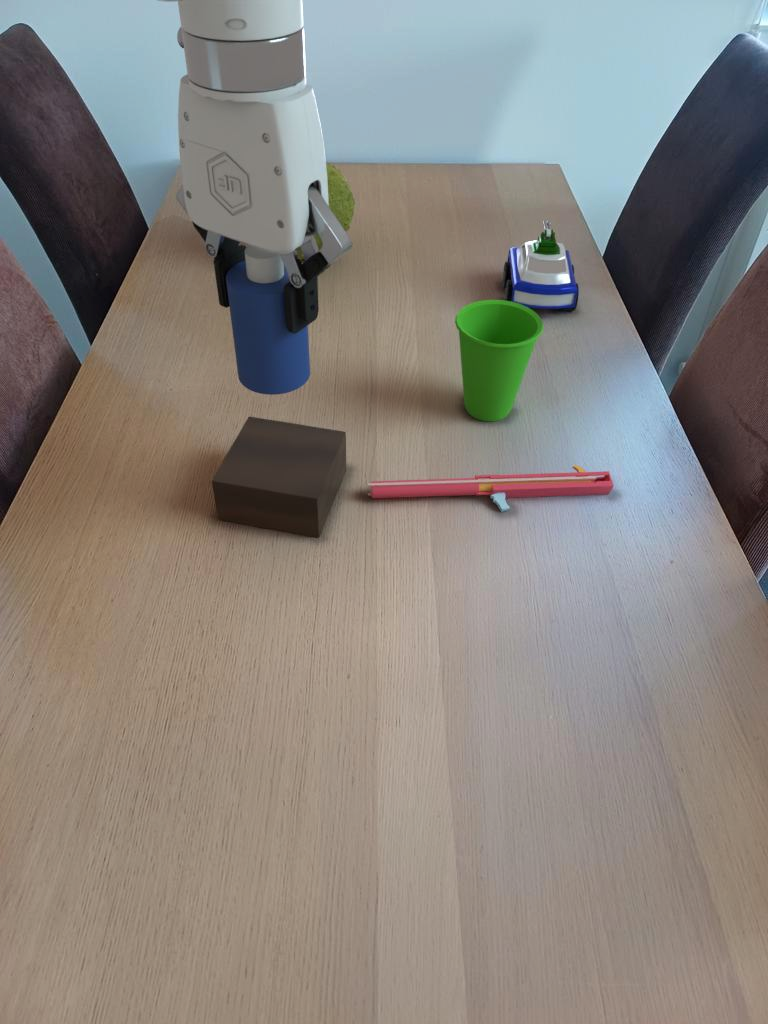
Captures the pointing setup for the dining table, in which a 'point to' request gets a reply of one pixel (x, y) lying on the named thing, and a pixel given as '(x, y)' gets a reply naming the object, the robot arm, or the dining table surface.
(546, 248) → the toy car
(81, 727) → the dining table surface
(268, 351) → the bottle
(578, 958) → the dining table surface
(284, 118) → the robot arm
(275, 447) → the block
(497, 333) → the cup
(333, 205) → the fruit
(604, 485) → the pink long slotted bar
